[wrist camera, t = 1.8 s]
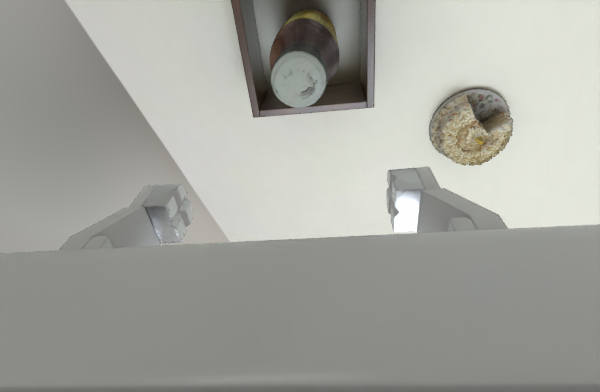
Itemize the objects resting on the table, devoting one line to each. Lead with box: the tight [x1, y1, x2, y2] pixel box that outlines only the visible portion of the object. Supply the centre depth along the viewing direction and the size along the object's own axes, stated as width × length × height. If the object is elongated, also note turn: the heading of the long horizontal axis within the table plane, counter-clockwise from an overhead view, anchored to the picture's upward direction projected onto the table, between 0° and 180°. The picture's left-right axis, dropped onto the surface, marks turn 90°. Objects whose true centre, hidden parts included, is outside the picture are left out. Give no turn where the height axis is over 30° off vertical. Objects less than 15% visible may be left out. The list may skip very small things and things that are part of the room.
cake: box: [430, 89, 513, 166], centre depth 44 cm, size 10×10×5 cm
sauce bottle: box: [270, 9, 339, 108], centre depth 33 cm, size 6×6×20 cm
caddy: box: [231, 0, 376, 117], centre depth 38 cm, size 14×14×7 cm
